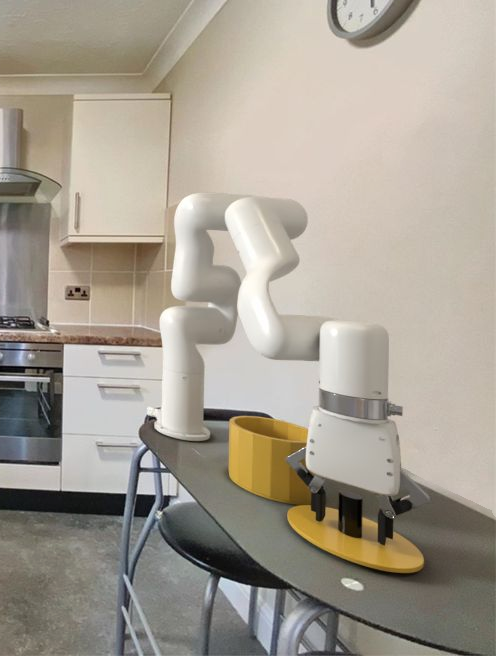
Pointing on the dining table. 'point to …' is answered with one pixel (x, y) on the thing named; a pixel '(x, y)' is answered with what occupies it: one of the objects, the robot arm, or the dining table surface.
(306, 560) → the dining table surface
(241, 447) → the tin
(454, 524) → the dining table surface
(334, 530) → the lid
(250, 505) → the dining table surface
